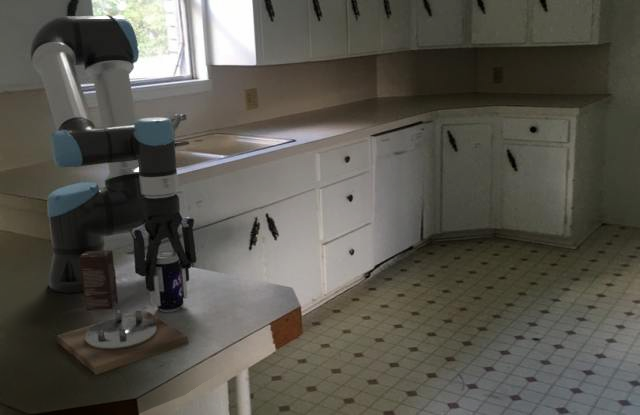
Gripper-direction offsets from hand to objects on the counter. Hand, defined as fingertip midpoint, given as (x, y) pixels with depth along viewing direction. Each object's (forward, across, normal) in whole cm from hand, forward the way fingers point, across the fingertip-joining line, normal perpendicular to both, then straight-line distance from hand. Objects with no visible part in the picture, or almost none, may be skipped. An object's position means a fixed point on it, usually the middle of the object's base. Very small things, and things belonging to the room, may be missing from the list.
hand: (169, 300), depth 145 cm
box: (+2, -10, +12) cm, 16 cm away
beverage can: (+2, 0, 0) cm, 2 cm away
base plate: (+2, -15, -9) cm, 18 cm away
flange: (0, -15, -9) cm, 17 cm away
